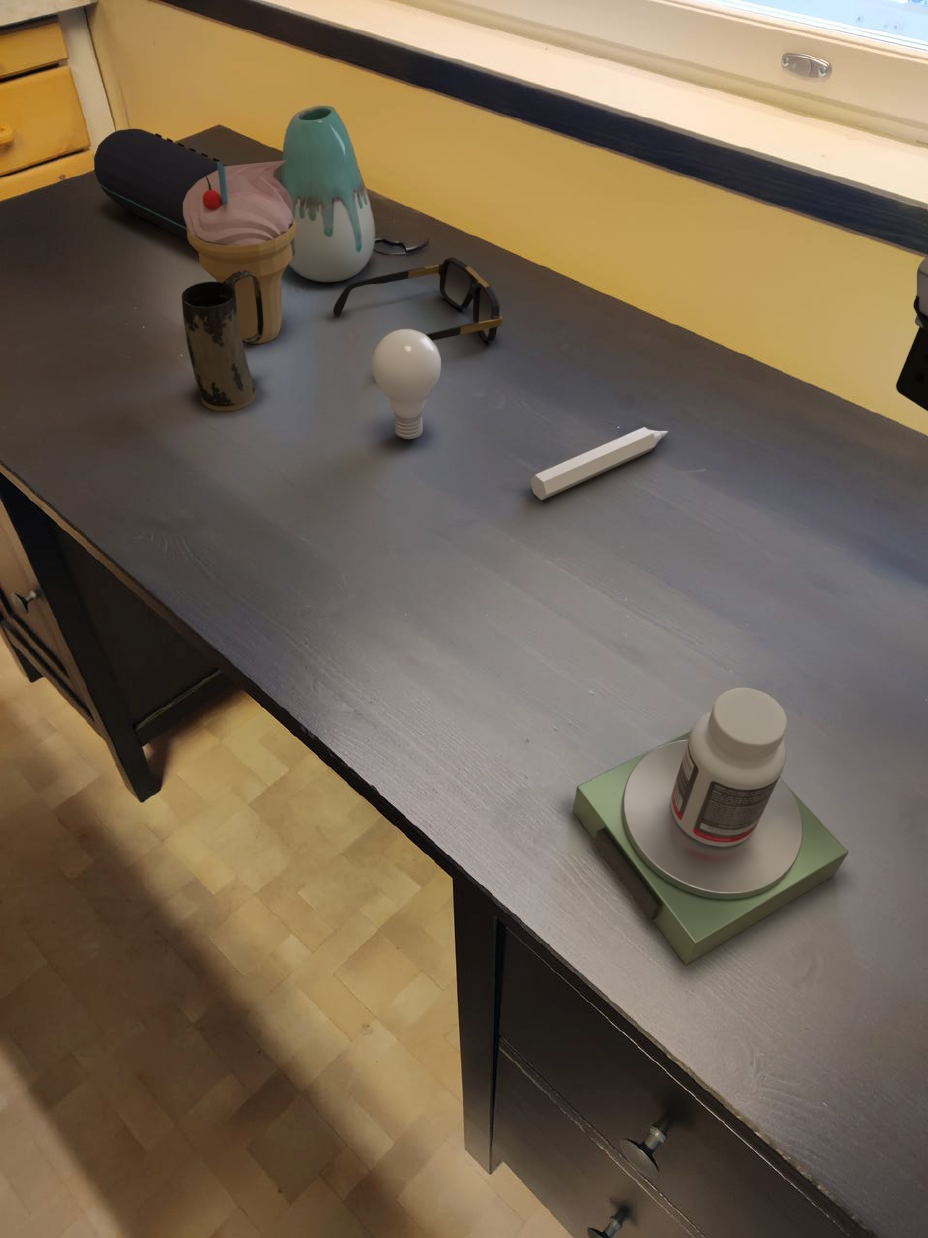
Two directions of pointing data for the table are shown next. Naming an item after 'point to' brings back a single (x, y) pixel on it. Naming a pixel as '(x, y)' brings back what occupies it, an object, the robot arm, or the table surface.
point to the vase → (326, 198)
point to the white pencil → (594, 462)
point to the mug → (220, 342)
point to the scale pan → (696, 862)
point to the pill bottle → (730, 767)
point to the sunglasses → (449, 296)
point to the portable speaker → (150, 175)
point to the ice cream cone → (244, 236)
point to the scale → (678, 912)
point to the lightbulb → (406, 376)
